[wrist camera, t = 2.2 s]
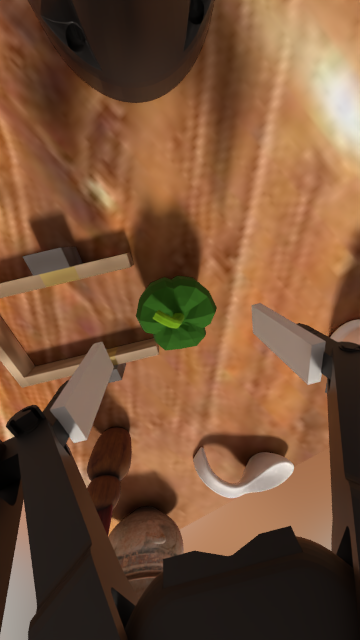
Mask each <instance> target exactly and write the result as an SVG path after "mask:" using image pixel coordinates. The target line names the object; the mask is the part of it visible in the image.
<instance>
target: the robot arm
mask: <svg viewBox="0 0 360 640" xmlns="http://www.w3.org/2000/svg"><path fill="white" fill-rule="evenodd" d="M28 1H29V3H30V5H31V7H32V9H33V11H34V12H35V14H36V16H37V18H38V20H39V21H40V23H41V25H42V27H43V29H44V31H45V32H46V34H47V36H48V37H49V39H50V41H51V42H52V44H53V45H54V47H55V49H56V50H57V51H58V53H59V54H60V56H61V57H62V58H63V59H64V61H65V62H66V63H67V64H68V66H69V67H70V68H71V69H72V70H73V71H74V72H75V73H76V74H77V75H78V76H79V77H80V78H81V79H82V80H83V81H85V82H86V83H87V84H88V85H90V86H91V87H92V88H94V89H95V90H97V91H99V92H100V93H102V94H104V95H106V96H108V97H110V98H113V99H116V100H119V101H124V102H130V103H139V102H147V101H151V100H154V99H157V98H159V97H161V96H163V95H165V94H166V93H168V92H169V91H171V90H172V89H173V88H175V87H176V86H177V85H178V84H179V83H180V82H181V81H182V80H183V78H184V77H185V76H186V75H187V73H188V72H189V71H190V69H191V67H192V66H193V64H194V62H195V61H196V59H197V57H198V55H199V53H200V50H201V48H202V46H203V43H204V40H205V37H206V34H207V31H208V27H209V24H210V19H211V15H212V10H213V6H214V1H215V0H28ZM252 322H253V333H254V334H255V335H256V336H257V337H258V338H259V339H260V340H261V341H262V342H263V343H264V344H265V345H266V346H267V347H269V348H270V349H271V350H272V351H273V352H274V353H275V354H276V355H277V356H278V357H279V358H280V359H281V360H282V361H283V362H284V363H285V364H286V365H288V366H289V367H290V368H291V369H292V370H293V371H294V372H295V373H296V374H297V375H298V376H299V377H300V378H301V379H302V380H303V381H304V382H306V383H307V384H312V383H316V382H320V381H321V374H323V375H325V376H326V377H327V384H326V391H325V393H327V399H328V422H329V445H330V467H331V489H332V513H333V525H332V551H330V550H328V549H327V548H325V547H323V546H322V545H320V544H318V543H316V542H313V541H311V540H308V539H305V538H302V537H296V536H295V534H294V532H293V530H292V528H291V526H288V527H285V528H281V529H277V530H273V531H269V532H266V533H262V534H259V535H258V536H256V537H255V538H254V539H253V540H251V541H250V542H249V543H247V544H246V545H245V546H244V547H242V548H241V549H240V550H238V551H237V552H236V553H235V554H233V555H231V556H222V555H216V554H211V553H205V552H199V551H192V552H188V553H184V554H180V555H176V556H173V557H169V558H165V559H163V571H162V572H161V573H160V574H159V575H158V576H157V577H156V578H155V579H154V580H153V581H152V582H151V583H150V584H149V586H148V587H147V588H146V590H145V591H144V592H143V594H142V596H141V597H140V599H138V597H137V595H136V593H135V591H134V589H133V587H132V585H131V584H130V582H129V581H128V579H127V577H126V575H125V574H124V572H123V569H122V567H121V565H120V563H119V560H118V558H117V556H116V554H115V551H114V549H113V547H112V545H111V542H110V540H109V538H108V535H107V533H106V531H105V529H104V526H103V524H102V522H101V520H100V517H99V515H98V513H97V510H96V508H95V506H94V504H93V501H92V499H91V497H90V495H89V492H88V490H87V488H86V485H85V483H84V481H83V479H82V476H81V474H80V472H79V470H78V467H77V465H76V463H75V461H74V458H73V456H72V454H71V451H70V449H69V447H68V446H67V444H66V442H67V440H68V438H69V437H70V438H71V440H72V441H73V442H74V443H76V442H80V441H84V440H87V438H88V436H89V433H90V430H91V428H92V425H93V422H94V420H95V417H96V414H97V412H98V409H99V406H100V403H101V401H102V398H103V395H104V393H105V390H106V387H107V385H108V382H109V379H110V376H111V374H112V371H113V368H114V366H113V364H112V362H111V360H110V357H109V355H108V353H107V351H106V349H105V346H104V344H103V342H99V343H94V344H93V345H92V347H91V348H90V350H89V351H88V353H87V354H86V356H85V357H84V359H83V360H82V362H81V363H80V365H79V366H78V368H77V369H76V371H75V372H74V374H73V375H72V377H71V378H70V380H68V381H66V382H65V383H64V384H63V385H62V386H61V387H60V388H59V389H58V391H57V392H56V394H55V395H54V396H53V398H52V400H51V401H50V402H49V404H48V405H47V407H46V408H45V409H44V411H43V412H42V411H41V410H40V409H39V407H38V406H37V405H31V406H28V407H26V408H24V409H22V410H20V411H19V412H17V413H16V414H15V415H14V416H13V417H12V418H10V420H9V421H8V422H7V425H6V427H7V428H8V429H9V431H10V432H11V433H12V434H13V435H14V436H15V437H13V438H11V439H9V440H7V441H5V442H2V441H1V440H0V632H1V626H2V620H3V615H4V609H5V603H6V597H7V591H8V586H9V580H10V574H11V568H12V562H13V557H14V551H15V545H16V540H17V534H18V528H19V522H20V517H21V511H22V505H23V499H24V504H25V512H26V520H27V528H28V535H29V544H30V551H31V559H32V568H33V575H34V583H35V591H36V599H37V611H36V614H35V615H34V617H33V618H32V620H31V622H30V626H29V631H28V640H360V345H359V344H356V343H352V342H343V341H341V342H337V341H335V340H333V339H331V338H329V337H328V336H326V335H324V334H322V333H320V332H319V331H317V330H314V329H313V328H311V327H309V326H307V325H304V324H300V323H298V324H295V323H293V322H292V321H290V320H288V319H286V318H285V317H283V316H281V315H280V314H278V313H276V312H274V311H273V310H271V309H269V308H268V307H266V306H264V305H262V304H261V303H259V304H255V305H252Z"/></svg>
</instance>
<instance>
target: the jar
mask: <svg viewBox="0 0 360 640" xmlns="http://www.w3.org/2000/svg"><path fill="white" fill-rule="evenodd" d="M330 338H331V339H333V340H335V341H337V342H341V341H343V342H352V343H356V344H359V345H360V319H357V320H352V321H349V322H347V323H345V324H343V325H342V326H340V327H339V328H338V329H337V330H336V331H335V332H334V333H333V334H332V335H331V337H330Z"/></svg>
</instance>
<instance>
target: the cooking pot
mask: <svg viewBox="0 0 360 640" xmlns="http://www.w3.org/2000/svg"><path fill="white" fill-rule="evenodd" d="M108 538H109V540H110V542H111V545H112V547H113V549H114V551H115V554H116V556H117V558H118V560H119V563H120V565H121V567H122V569H123V572H124V574H125V575H126V577H127V579H128V581H129V582H130V584H131V585H132V587H133V589H134V591H135V593H136V595H137V597H138V599H140V597H141V596H142V594H143V592H144V591H145V590H146V588H147V587H148V586H149V584H150V583H151V582H152V581H153V580H154V579H155V578H156V577H157V576H158V575H159V574H160V573H161V572H162V571H163V559H165V558H169V557H173V556H176V555H180V554H183V540H182V536H181V533H180V530H179V528H178V526H177V525H176V523H175V522H174V521H173V520H172V519H171V518H170V517H169V516H167V515H165V514H164V513H162V512H160V511H159V510H158V509H156V508H154V507H141V508H138V509H137V510H135V511H134V512H133V513H132V514H130V515H129V516H127V517H126V518H125V519H123V520H122V521H121V522H120V523H119V524H117V525H116V526H115V528H114V529H113V530H112V532H111V533H110V535H109V536H108Z"/></svg>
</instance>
